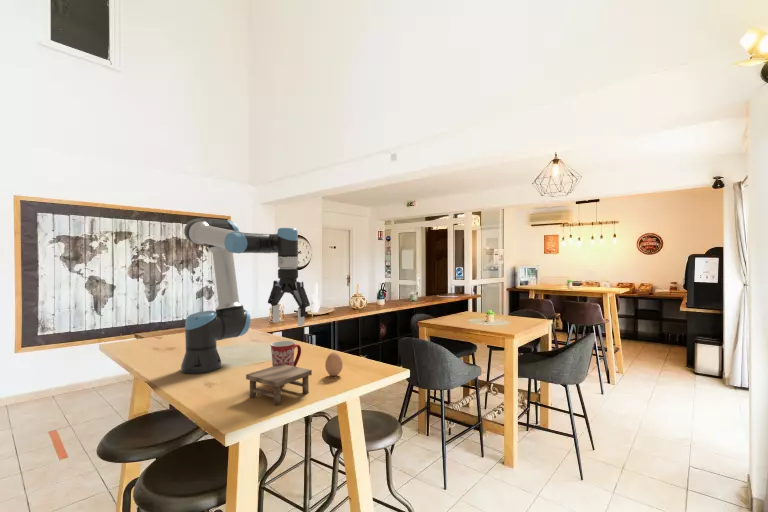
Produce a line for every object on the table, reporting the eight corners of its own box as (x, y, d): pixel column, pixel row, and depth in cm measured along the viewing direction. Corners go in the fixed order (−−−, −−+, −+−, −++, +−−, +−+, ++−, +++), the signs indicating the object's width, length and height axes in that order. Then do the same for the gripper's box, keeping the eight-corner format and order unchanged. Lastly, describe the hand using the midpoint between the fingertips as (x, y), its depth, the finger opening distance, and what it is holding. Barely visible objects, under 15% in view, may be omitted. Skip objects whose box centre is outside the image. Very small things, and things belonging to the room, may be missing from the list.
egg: (346, 375, 146) (345, 352, 146) (332, 379, 141) (332, 355, 141) (335, 372, 151) (335, 349, 151) (322, 375, 146) (321, 352, 146)
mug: (279, 384, 137) (279, 347, 137) (266, 379, 143) (265, 343, 143) (308, 375, 146) (307, 340, 147) (294, 371, 152) (293, 337, 153)
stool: (246, 397, 124) (246, 374, 124) (282, 384, 137) (281, 363, 137) (276, 407, 116) (276, 382, 116) (311, 392, 128) (311, 370, 128)
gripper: (258, 268, 148) (258, 322, 148) (304, 269, 135) (305, 328, 135) (273, 267, 155) (273, 319, 155) (319, 268, 141) (319, 325, 141)
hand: (288, 323), depth 145 cm, fingers open, 13 cm apart
